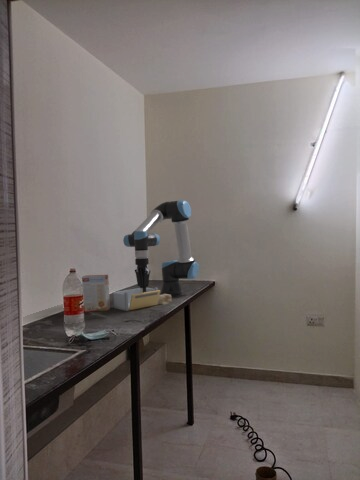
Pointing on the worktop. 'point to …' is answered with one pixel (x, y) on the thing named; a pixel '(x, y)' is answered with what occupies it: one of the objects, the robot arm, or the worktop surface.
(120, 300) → the pale blue open box
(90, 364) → the worktop surface
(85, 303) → the cracker box
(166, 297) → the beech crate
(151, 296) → the panel
